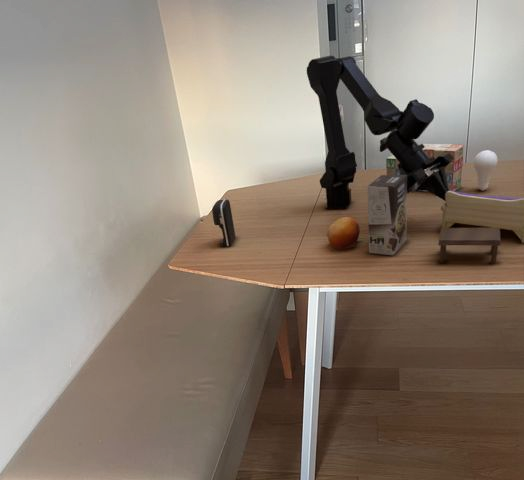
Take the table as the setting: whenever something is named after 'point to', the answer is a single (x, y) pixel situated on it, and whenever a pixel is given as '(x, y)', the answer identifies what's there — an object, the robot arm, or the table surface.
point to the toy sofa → (484, 211)
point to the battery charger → (224, 221)
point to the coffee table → (469, 239)
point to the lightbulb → (485, 167)
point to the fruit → (343, 233)
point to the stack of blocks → (435, 150)
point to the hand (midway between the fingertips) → (448, 199)
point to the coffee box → (387, 214)
